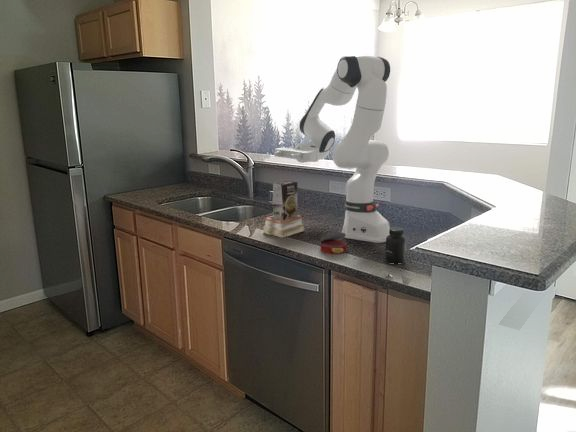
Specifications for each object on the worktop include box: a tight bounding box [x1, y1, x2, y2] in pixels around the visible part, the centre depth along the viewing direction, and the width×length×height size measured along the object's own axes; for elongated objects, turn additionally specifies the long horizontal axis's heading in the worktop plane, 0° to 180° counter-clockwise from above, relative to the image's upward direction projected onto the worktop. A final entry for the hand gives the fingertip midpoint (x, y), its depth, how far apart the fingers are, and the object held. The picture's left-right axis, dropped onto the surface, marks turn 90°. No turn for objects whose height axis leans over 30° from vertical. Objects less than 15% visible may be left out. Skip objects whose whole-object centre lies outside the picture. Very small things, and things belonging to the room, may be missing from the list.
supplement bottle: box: [384, 226, 407, 264], centre depth 158 cm, size 7×7×12 cm
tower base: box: [262, 214, 305, 239], centre depth 197 cm, size 11×14×7 cm
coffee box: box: [272, 180, 298, 221], centre depth 194 cm, size 9×6×16 cm
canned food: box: [319, 231, 348, 255], centre depth 172 cm, size 11×10×10 cm
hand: (283, 155), depth 199 cm, fingers open, 8 cm apart
